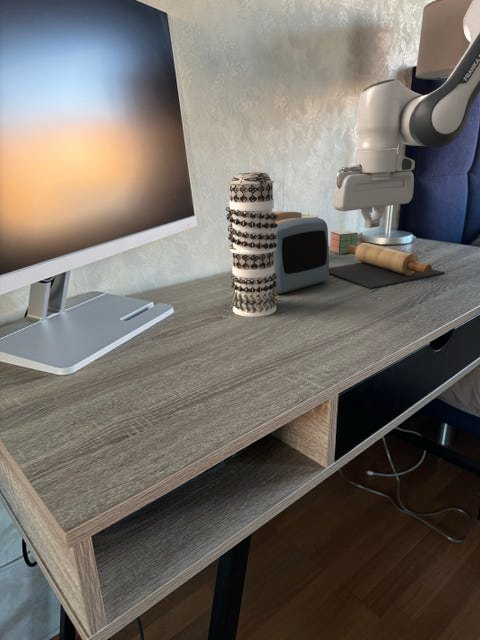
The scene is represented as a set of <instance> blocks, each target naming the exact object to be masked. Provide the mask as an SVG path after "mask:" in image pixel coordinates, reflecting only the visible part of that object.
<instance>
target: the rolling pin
mask: <svg viewBox="0 0 480 640" xmlns="http://www.w3.org/2000/svg"><path fill="white" fill-rule="evenodd" d="M347 251H348V253H347V254H351V255H355V259H356V261H358V263H361V262H362V263H366V264H369V265H373V266H376V267H379V268H383V269H386V270H390V271H393V272H396V273H400V274H403V275H407V276H410V275H412V274H413V273H414V272H415V271H416V272H419V273H423V274H426V275H427V274H429V273H430V272H431V270H432V269H433V267H432V265H431V264H429V263H425V262H420V261H419V257H418V256H417V254H415V253H411V252H407V251H402V250H398V249H393V248H390V247H385V246H382V245H377V244H373V243H368V242H361V243H360V244H359V245H357V246H354V245H349V246H348V248H347Z"/></svg>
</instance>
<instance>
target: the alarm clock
mask: <svg viewBox="0 0 480 640" xmlns="http://www.w3.org/2000/svg"><path fill="white" fill-rule="evenodd" d="M272 213H275V214H276V215H277V216H278V217H277V219H275V220H272V223H274V222H275V223H276V224H277V225H278V226H277V227H276V228H275V229H274V228H272V234H273V233H274V234H275V235H277V238H276V239H274V240H272V243H273V242H274V243H276V244H277V247H276V250H274V251H273V263H274V273H276V279H274V281H276V287H274V289H275V290H276V291H277V293H276V294H277V295H278V294H286V293H289V292H294V291H296V290H297V291H298V290H300V289H304V288H309V287H312V286H314V285H318V284H319V285H320V284H322V283H325V282H326V281H327V280H328V279H329V276H330V274H329V268H330V244H329V228H328V225H327V222H326V221H325V219H323V218H320V217H318V218H302V214H303V213H302V212H300V211H272Z"/></svg>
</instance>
